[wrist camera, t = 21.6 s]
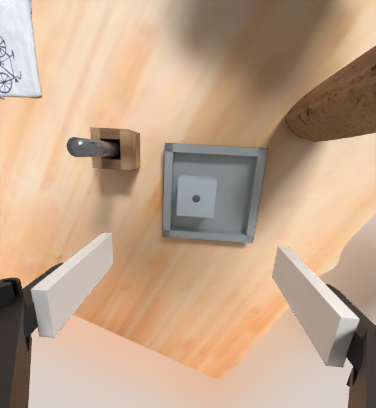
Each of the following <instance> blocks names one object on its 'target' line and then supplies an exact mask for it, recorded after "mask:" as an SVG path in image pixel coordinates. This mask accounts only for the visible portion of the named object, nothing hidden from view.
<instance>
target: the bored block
mask: <svg viewBox="0 0 376 408" xmlns="http://www.w3.org/2000/svg"><path fill="white" fill-rule="evenodd" d="M90 132H91V140H97V141H104V142H111V143H115V141H120V153H121V159H116V156H104V157H92V160H93V168H105V169H121V170H133V169H138V168H140V133H137V132H134V131H132V130H129V129H110V128H91V127H90Z"/></svg>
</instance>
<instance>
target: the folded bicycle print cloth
mask: <svg viewBox="0 0 376 408" xmlns="http://www.w3.org/2000/svg"><path fill="white" fill-rule="evenodd" d="M31 9H32V7H31V0H0V97H1V98H3V99H4V100H5V98H4V97H3V96H17V97H40V96H42V92H41V86H40V80H39V74H38V66H37V59H36V51H35V42H34V35H33V27H32V19H31V14H32V12H31Z"/></svg>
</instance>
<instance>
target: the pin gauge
mask: <svg viewBox="0 0 376 408" xmlns="http://www.w3.org/2000/svg"><path fill="white" fill-rule="evenodd" d="M67 149H68V151H69V153H70V154H71V155H73V156H75V157H104V156H121V153H120V144H118V143H111V142H104V141H97V140H90V139H84V138H77V137H73V138H70V139H69V140H68V142H67Z"/></svg>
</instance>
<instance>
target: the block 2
mask: <svg viewBox="0 0 376 408" xmlns="http://www.w3.org/2000/svg"><path fill="white" fill-rule="evenodd" d="M286 121H287V123H288V125H289V127H290V128H291V129H292V131H293V132H294V133H295V134H297V135H298V136H299V137H302V138H305V139H308V140H310V141H314V142H317V141H328V140H336V139H342V138H348V137H354V136H360V135H365V134H371V133H376V46H375V47H373V48H372V49H370V50H369V51H367V52H365V53H364V54H362V55H361V56H360V57H358V58H357V59H355V60H354V61H352V62H351V63H350V64H348V65H347V66H345V67H344V68H342V69H341V70H339V71H338V72H336V73H335V74H333V75H332V76H331V77H329V78H328V79H326V80H325V81H324V82H322V83H321V84H320V85H318V86H317V87H315V88H314V89H313V90H312V91H310V92H309V93H308V94H306V95H305V96H304V97H303V98H302V99H301V100H299V101H298V102H297V103H296V104H295V105H294V106H293V107H292V109H291V110H290V111H289V112H288V114H287V116H286Z"/></svg>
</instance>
